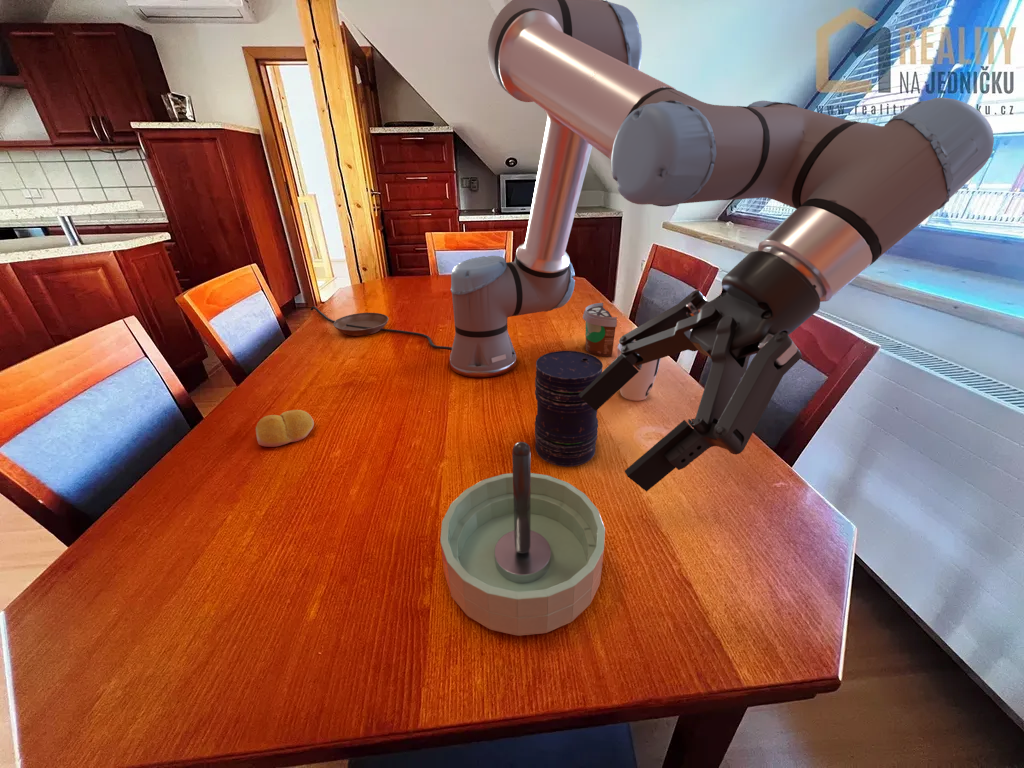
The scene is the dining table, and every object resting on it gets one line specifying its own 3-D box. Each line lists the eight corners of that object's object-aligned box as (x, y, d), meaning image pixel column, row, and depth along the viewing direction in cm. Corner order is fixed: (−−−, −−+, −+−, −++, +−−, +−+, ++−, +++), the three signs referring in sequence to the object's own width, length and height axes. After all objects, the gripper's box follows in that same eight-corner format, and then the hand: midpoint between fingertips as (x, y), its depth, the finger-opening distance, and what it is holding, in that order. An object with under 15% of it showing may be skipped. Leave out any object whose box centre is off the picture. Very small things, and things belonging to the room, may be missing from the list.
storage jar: (555, 474, 62) (558, 385, 56) (523, 440, 70) (522, 358, 63) (609, 454, 66) (618, 368, 60) (573, 424, 74) (577, 345, 67)
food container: (576, 340, 109) (578, 303, 105) (599, 339, 110) (602, 302, 105) (587, 360, 98) (590, 319, 94) (613, 359, 99) (617, 318, 94)
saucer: (400, 326, 122) (399, 317, 121) (359, 342, 111) (357, 333, 110) (366, 318, 129) (364, 309, 128) (324, 333, 118) (322, 323, 117)
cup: (657, 406, 79) (664, 357, 75) (612, 402, 81) (617, 354, 76) (653, 386, 86) (660, 340, 82) (612, 383, 88) (617, 338, 83)
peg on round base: (483, 557, 49) (475, 442, 41) (524, 529, 52) (523, 418, 45) (520, 594, 44) (518, 473, 37) (562, 561, 48) (568, 444, 41)
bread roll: (319, 436, 73) (313, 416, 71) (260, 454, 68) (253, 434, 66) (310, 415, 79) (304, 396, 77) (256, 430, 74) (249, 411, 73)
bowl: (417, 557, 50) (410, 520, 47) (527, 489, 60) (527, 455, 57) (515, 679, 38) (514, 638, 35) (632, 568, 48) (638, 529, 45)
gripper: (950, 359, 27) (693, 552, 33) (725, 274, 49) (592, 397, 55) (913, 282, 24) (636, 509, 30) (690, 228, 46) (553, 363, 51)
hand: (607, 436), depth 42 cm, fingers open, 13 cm apart
